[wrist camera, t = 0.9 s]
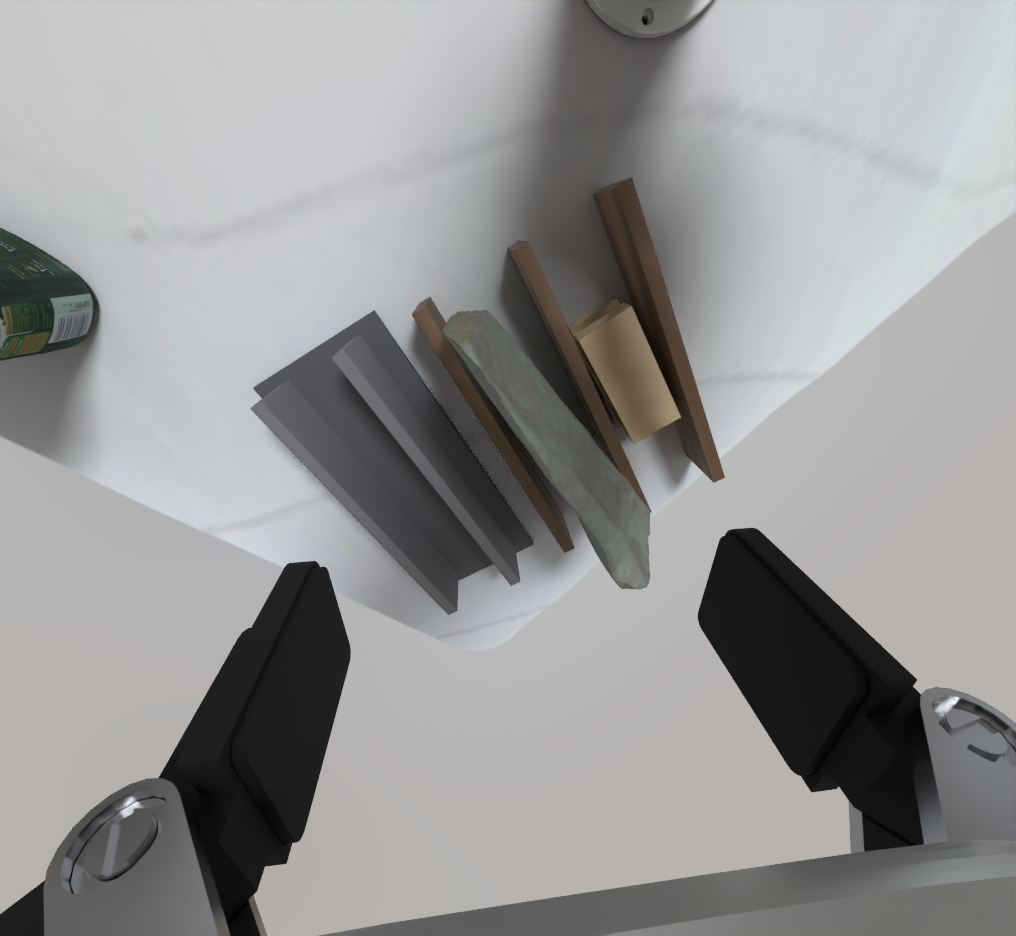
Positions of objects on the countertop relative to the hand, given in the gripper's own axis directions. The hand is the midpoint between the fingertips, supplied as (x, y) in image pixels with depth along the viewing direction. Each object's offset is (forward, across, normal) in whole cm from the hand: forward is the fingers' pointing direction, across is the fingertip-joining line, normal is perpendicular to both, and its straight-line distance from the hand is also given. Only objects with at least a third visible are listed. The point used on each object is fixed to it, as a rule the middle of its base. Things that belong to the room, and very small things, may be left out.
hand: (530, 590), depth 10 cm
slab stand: (+34, +8, +15) cm, 38 cm away
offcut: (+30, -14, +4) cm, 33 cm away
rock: (+33, -6, +7) cm, 35 cm away
